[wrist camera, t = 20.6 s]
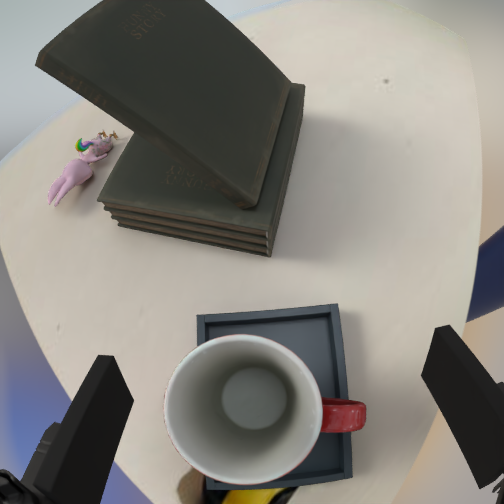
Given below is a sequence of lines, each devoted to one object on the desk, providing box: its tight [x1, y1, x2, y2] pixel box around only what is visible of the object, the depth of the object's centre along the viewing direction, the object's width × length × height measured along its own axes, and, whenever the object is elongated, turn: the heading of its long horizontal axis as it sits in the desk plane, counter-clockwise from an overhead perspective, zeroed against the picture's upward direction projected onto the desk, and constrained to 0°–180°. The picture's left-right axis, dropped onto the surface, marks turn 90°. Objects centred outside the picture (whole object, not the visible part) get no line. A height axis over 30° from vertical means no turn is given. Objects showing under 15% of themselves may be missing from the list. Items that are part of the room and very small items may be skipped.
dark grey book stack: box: [35, 0, 305, 257], centre depth 28 cm, size 23×20×25 cm
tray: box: [197, 303, 353, 490], centre depth 27 cm, size 14×18×3 cm
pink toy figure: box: [48, 131, 118, 207], centre depth 38 cm, size 6×6×15 cm
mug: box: [163, 334, 366, 485], centre depth 21 cm, size 13×9×14 cm
